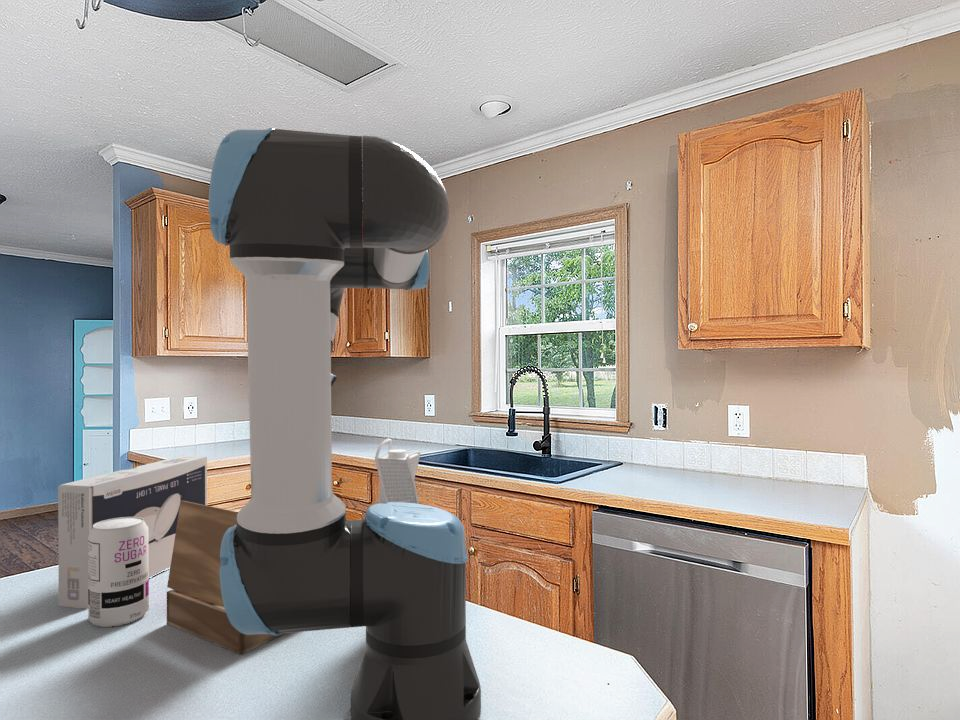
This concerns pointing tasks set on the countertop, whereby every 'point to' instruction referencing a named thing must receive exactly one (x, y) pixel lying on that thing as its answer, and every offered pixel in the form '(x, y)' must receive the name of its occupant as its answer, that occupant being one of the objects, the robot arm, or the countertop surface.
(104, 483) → the packaging
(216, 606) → the box
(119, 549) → the supplement can
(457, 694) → the robot arm
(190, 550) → the lid
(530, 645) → the countertop surface
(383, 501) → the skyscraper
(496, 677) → the countertop surface
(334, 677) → the countertop surface
